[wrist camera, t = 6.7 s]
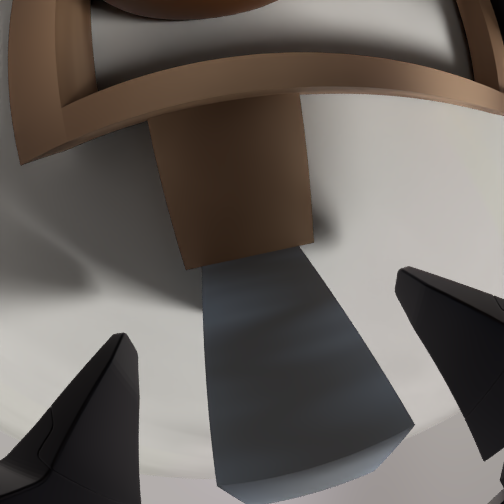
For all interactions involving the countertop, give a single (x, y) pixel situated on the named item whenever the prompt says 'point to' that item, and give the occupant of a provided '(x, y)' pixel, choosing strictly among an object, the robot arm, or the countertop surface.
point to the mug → (187, 8)
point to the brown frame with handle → (248, 228)
